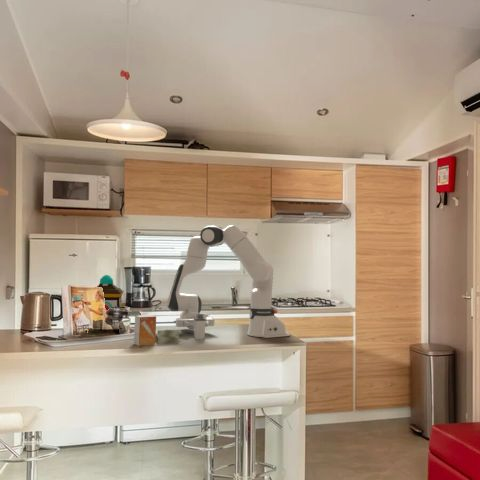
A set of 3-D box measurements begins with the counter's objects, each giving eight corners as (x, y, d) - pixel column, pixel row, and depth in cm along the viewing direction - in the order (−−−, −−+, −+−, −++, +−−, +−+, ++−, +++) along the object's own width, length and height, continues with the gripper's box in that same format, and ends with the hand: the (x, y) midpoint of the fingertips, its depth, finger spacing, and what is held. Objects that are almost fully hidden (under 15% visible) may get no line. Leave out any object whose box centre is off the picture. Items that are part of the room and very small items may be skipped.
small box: (138, 346, 200) (139, 317, 201) (133, 343, 205) (134, 315, 206) (155, 344, 204) (156, 316, 205) (150, 342, 210) (151, 314, 210)
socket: (174, 338, 220) (175, 326, 221) (178, 342, 211) (179, 329, 211) (154, 339, 217) (154, 327, 217) (157, 343, 208) (157, 330, 208)
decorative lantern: (88, 328, 246) (90, 273, 248) (125, 328, 250) (126, 274, 252) (82, 334, 227) (84, 275, 228) (122, 334, 231) (124, 275, 232)
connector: (202, 337, 226) (203, 313, 227) (205, 339, 222) (205, 314, 222) (193, 337, 225) (194, 313, 225) (195, 339, 220) (196, 314, 221)
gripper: (173, 315, 237) (178, 318, 223) (210, 314, 243) (217, 317, 230) (172, 327, 236) (177, 331, 223) (210, 326, 243) (217, 329, 230)
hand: (198, 324), depth 227 cm, fingers open, 8 cm apart
